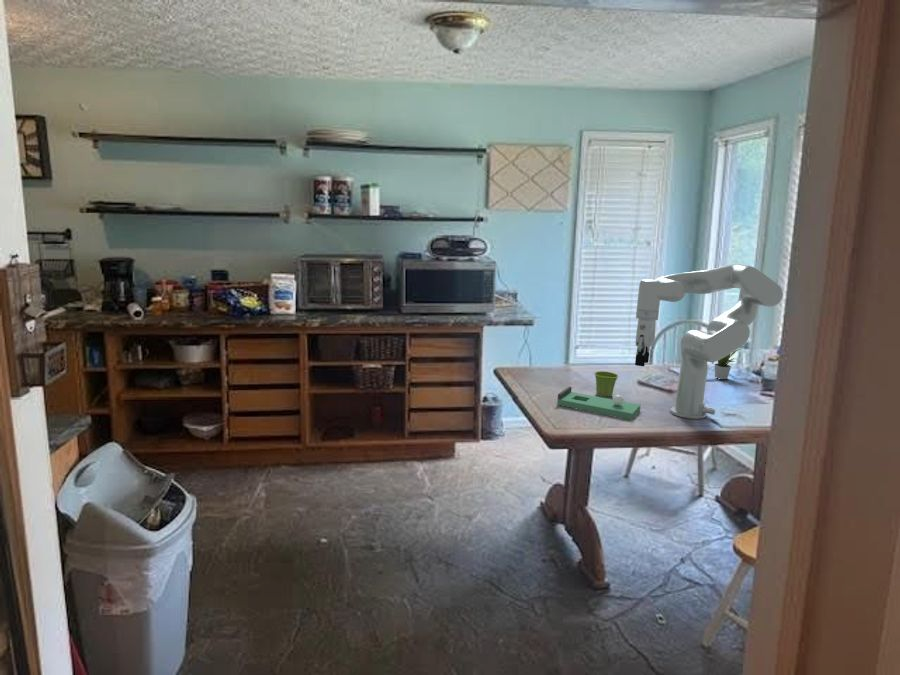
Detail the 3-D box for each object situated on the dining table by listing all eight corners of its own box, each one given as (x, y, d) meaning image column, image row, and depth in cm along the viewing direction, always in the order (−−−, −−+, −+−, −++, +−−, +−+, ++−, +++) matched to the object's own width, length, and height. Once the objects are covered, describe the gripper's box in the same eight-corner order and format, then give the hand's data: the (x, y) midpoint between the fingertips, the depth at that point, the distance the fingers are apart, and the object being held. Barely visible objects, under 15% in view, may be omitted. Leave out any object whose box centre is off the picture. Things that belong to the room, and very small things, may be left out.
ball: (624, 405, 242) (625, 394, 241) (621, 407, 238) (622, 397, 238) (613, 403, 244) (614, 392, 243) (610, 405, 240) (611, 395, 239)
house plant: (734, 375, 306) (739, 341, 302) (744, 383, 292) (749, 348, 289) (703, 373, 307) (707, 339, 304) (711, 381, 293) (716, 345, 290)
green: (639, 410, 244) (641, 399, 243) (631, 419, 233) (633, 408, 232) (568, 397, 257) (569, 386, 256) (557, 405, 246) (558, 394, 245)
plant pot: (616, 393, 266) (618, 372, 264) (615, 399, 257) (618, 378, 255) (593, 390, 268) (595, 370, 267) (591, 396, 259) (593, 375, 258)
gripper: (652, 319, 222) (647, 370, 225) (662, 312, 237) (657, 361, 240) (630, 316, 225) (625, 367, 229) (641, 310, 240) (636, 358, 244)
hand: (641, 363), depth 234 cm, fingers open, 5 cm apart
